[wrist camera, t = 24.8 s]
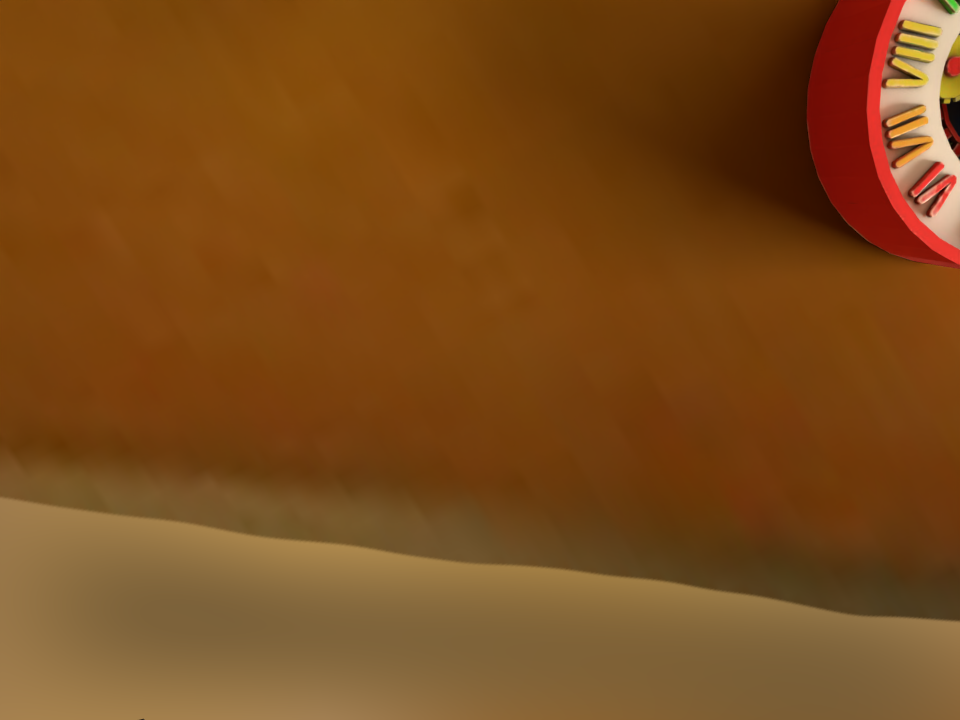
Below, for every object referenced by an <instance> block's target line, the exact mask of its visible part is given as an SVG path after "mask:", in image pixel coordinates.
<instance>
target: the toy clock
mask: <svg viewBox="0 0 960 720" xmlns="http://www.w3.org/2000/svg"><path fill="white" fill-rule="evenodd" d="M807 128H808V136H809V145H810V151H811V154H812V158H813V161H814V165H815V168H816V171H817V175H818V178H819V180H820V182H821V184H822V186H823V188H824V190H825V192H826V194H827V196H828V198H829V200H830V202H831V203H832V204H833V206H834V207H835V208H836V210H837V211H838V212H839V213H840V215H841V216H842V217H843V219H844V220H845V221H846V222H847V224H848V225H849V226H851V227H852V228H853V229H854V230H855V231H856V232H858V233H859V234H860V235H861V236H862V237H863V238H865V239H866V240H867V241H868V242H870V243H872V244H874V245H875V246H877V247H879V248H881V249H883V250H884V251H886V252H888V253H890V254H893V255H896V256H899V257H902V258H905V259H909V260H912V261H915V262H922V263H928V264H934V265H940V266H946V267H952V268H958V269H960V0H839V1H838V3H837V5H836V7H835V9H834V10H833V12H832V14H831V16H830V18H829V20H828V21H827V23H826V25H825V28H824V31H823V34H822V36H821V39H820V42H819V45H818V47H817V50H816V53H815V55H814V60H813V65H812V70H811V75H810V80H809V85H808V97H807Z"/></svg>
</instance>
